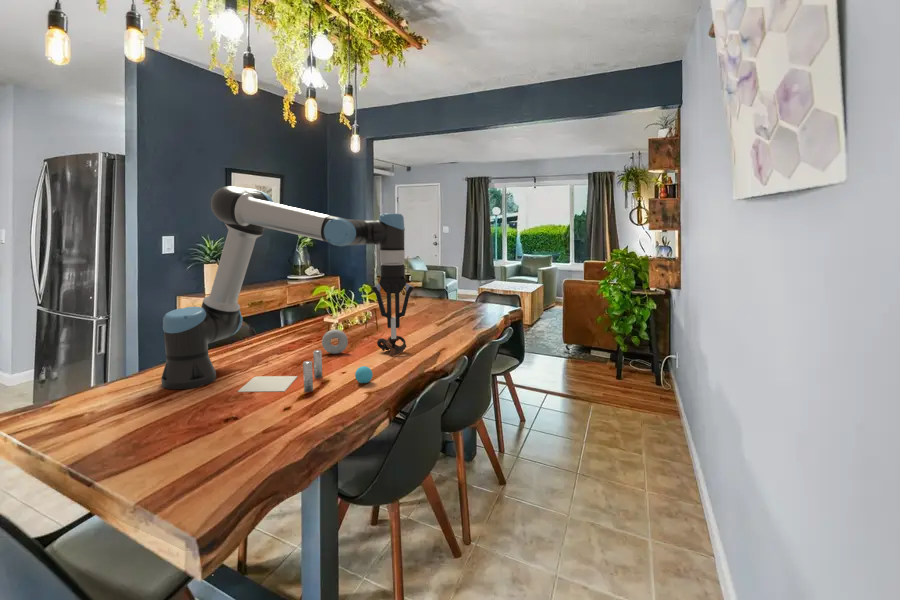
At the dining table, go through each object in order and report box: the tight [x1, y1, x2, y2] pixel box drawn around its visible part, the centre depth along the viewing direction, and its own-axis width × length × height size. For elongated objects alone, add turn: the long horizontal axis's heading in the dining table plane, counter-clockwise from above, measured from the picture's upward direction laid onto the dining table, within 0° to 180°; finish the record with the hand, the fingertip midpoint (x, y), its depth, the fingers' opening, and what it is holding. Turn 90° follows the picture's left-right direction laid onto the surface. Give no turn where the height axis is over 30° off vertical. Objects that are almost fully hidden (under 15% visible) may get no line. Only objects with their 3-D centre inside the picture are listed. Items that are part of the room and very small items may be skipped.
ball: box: [354, 365, 374, 384], centre depth 141 cm, size 6×6×6 cm
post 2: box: [312, 349, 323, 379], centre depth 146 cm, size 3×3×9 cm
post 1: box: [302, 360, 314, 393], centre depth 134 cm, size 3×3×9 cm
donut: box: [321, 328, 349, 355], centre depth 174 cm, size 10×4×10 cm, turn 104°
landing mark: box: [237, 375, 298, 393], centre depth 140 cm, size 14×14×1 cm
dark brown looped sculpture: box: [376, 334, 407, 356], centre depth 177 cm, size 12×10×8 cm
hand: (393, 337), depth 140 cm, fingers closed
